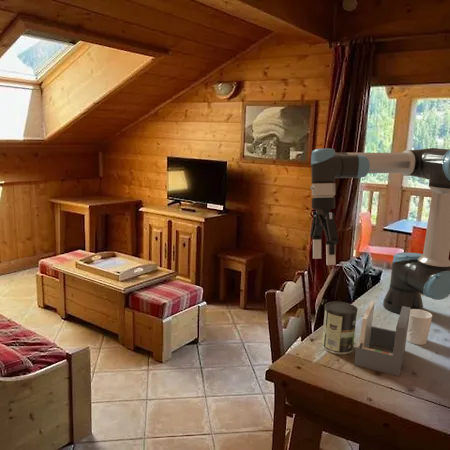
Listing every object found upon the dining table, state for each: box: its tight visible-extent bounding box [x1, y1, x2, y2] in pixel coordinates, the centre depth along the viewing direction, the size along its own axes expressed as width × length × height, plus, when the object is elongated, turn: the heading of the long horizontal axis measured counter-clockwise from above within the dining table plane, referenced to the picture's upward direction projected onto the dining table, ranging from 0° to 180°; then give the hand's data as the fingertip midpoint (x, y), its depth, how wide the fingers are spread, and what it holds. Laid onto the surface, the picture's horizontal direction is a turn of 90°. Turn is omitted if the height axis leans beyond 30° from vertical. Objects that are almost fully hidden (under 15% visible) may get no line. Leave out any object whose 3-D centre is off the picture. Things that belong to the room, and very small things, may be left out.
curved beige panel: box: [358, 300, 375, 348], centre depth 144 cm, size 1×18×14 cm, turn 154°
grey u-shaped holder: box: [354, 306, 410, 377], centre depth 143 cm, size 13×18×15 cm
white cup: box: [406, 309, 433, 346], centre depth 156 cm, size 8×8×10 cm
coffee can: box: [321, 300, 358, 355], centre depth 149 cm, size 10×10×14 cm
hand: (323, 261), depth 150 cm, fingers open, 13 cm apart
